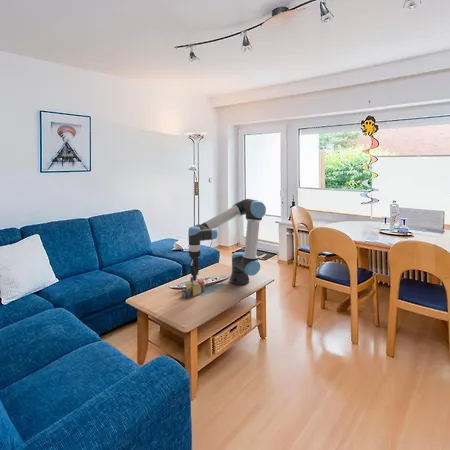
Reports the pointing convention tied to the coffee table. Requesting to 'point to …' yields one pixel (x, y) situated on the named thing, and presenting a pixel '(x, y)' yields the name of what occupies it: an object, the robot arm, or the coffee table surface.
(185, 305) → the coffee table surface
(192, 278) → the lever
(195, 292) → the valve
